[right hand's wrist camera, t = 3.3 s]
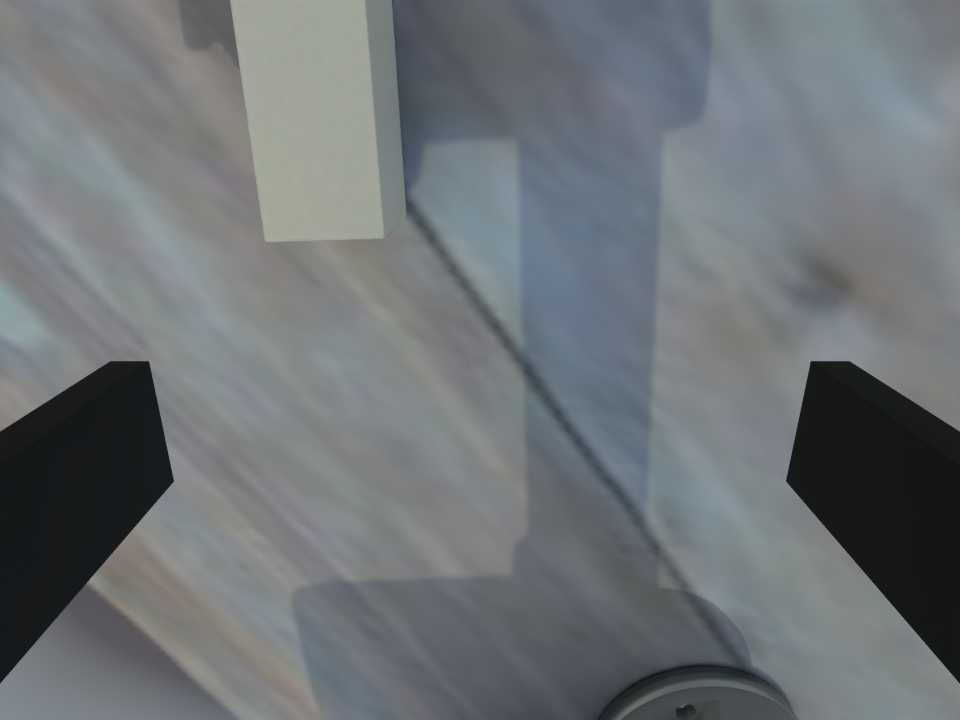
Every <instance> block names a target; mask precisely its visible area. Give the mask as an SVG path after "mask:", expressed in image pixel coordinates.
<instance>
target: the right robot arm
mask: <svg viewBox="0 0 960 720" xmlns="http://www.w3.org/2000/svg"><path fill="white" fill-rule="evenodd" d="M173 482H174V479H173V475H172V470H171V465H170V460H169V455H168V450H167V446H166V441H165V436H164V431H163V426H162V422H161V417H160V412H159V407H158V402H157V397H156V393H155V388H154V383H153V378H152V373H151V369H150V364H149V361H110V362H109V363H107V364H105V365H104V366H102V367H101V368H99V369H98V370H96V371H94V372H93V373H91V374H90V375H88V376H87V377H85V378H84V379H82V380H80V381H79V382H77V383H76V384H74V385H73V386H71V387H69V388H68V389H66V390H65V391H63V392H62V393H60V394H58V395H57V396H55V397H54V398H52V399H51V400H49V401H48V402H46V403H44V404H43V405H41V406H40V407H38V408H37V409H35V410H33V411H32V412H30V413H29V414H27V415H26V416H24V417H22V418H21V419H19V420H18V421H16V422H15V423H13V424H12V425H10V426H8V427H7V428H5V429H4V430H2V431H1V432H0V683H1V682H2V681H3V680H4V678H5V677H6V676H7V675H8V674H9V672H10V671H11V670H12V669H13V668H14V667H15V666H16V664H17V663H18V662H19V661H20V660H21V659H22V657H23V656H24V655H25V654H26V653H27V652H28V650H29V649H30V648H31V647H32V646H33V645H34V643H35V642H36V641H37V640H38V639H39V638H40V636H41V635H42V634H43V633H44V632H45V631H46V629H47V628H48V627H49V626H50V625H51V624H52V623H53V621H54V620H55V619H56V618H57V617H58V616H59V614H60V613H61V612H62V611H63V610H64V609H65V607H66V606H67V605H68V604H69V603H70V602H71V600H72V599H73V598H74V597H75V596H76V595H77V593H78V592H79V591H80V590H81V589H82V588H83V586H84V585H85V584H86V583H87V582H88V581H89V580H90V578H91V577H92V576H93V575H94V574H95V573H96V571H97V570H98V569H99V568H100V567H101V566H102V564H103V563H104V562H105V561H106V560H107V559H108V557H109V556H110V555H111V554H112V553H113V552H114V550H115V549H116V548H117V547H118V546H119V545H120V543H121V542H122V541H123V540H124V539H125V538H126V536H127V535H128V534H129V533H130V532H131V531H132V529H133V528H134V527H135V526H136V525H137V524H138V523H139V521H140V520H141V519H142V518H143V517H144V516H145V514H146V513H147V512H148V511H149V510H150V509H151V507H152V506H153V505H154V504H155V503H156V502H157V500H158V499H159V498H160V497H161V496H162V495H163V493H164V492H165V491H166V490H167V489H168V488H169V486H170V485H171V484H172V483H173ZM786 482H787V483H788V484H789V485H790V486H791V488H792V489H793V490H794V491H795V492H796V493H797V495H798V496H799V497H800V498H801V499H802V500H803V502H804V503H805V504H806V505H807V506H808V507H809V509H810V510H811V511H812V512H813V513H814V514H815V516H816V517H817V518H818V519H819V520H820V521H821V523H822V524H823V525H824V526H825V527H826V528H827V529H828V531H829V532H830V533H831V534H832V535H833V536H834V538H835V539H836V540H837V541H838V542H839V543H840V545H841V546H842V547H843V548H844V549H845V550H846V552H847V553H848V554H849V555H850V556H851V557H852V559H853V560H854V561H855V562H856V563H857V564H858V566H859V567H860V568H861V569H862V570H863V571H864V573H865V574H866V575H867V576H868V577H869V578H870V580H871V581H872V582H873V583H874V584H875V585H876V586H877V588H878V589H879V590H880V591H881V592H882V593H883V595H884V596H885V597H886V598H887V599H888V600H889V602H890V603H891V604H892V605H893V606H894V607H895V609H896V610H897V611H898V612H899V613H900V614H901V616H902V617H903V618H904V619H905V620H906V621H907V623H908V624H909V625H910V626H911V627H912V628H913V630H914V631H915V632H916V633H917V634H918V635H919V637H920V638H921V639H922V640H923V641H924V642H925V643H926V645H927V646H928V647H929V648H930V649H931V650H932V652H933V653H934V654H935V655H936V656H937V657H938V659H939V660H940V661H941V662H942V663H943V664H944V666H945V667H946V668H947V669H948V670H949V671H950V673H951V674H952V675H953V676H954V677H955V678H956V680H957V681H958V682H959V683H960V432H959V431H958V430H956V429H955V428H953V427H952V426H950V425H948V424H947V423H945V422H944V421H942V420H941V419H939V418H938V417H936V416H934V415H933V414H931V413H930V412H928V411H927V410H925V409H923V408H922V407H920V406H919V405H917V404H916V403H914V402H912V401H911V400H909V399H908V398H906V397H905V396H903V395H902V394H900V393H898V392H897V391H895V390H894V389H892V388H891V387H889V386H887V385H886V384H884V383H883V382H881V381H880V380H878V379H876V378H875V377H873V376H872V375H870V374H869V373H867V372H866V371H864V370H862V369H861V368H859V367H858V366H856V365H855V364H853V363H851V362H850V361H811V364H810V369H809V373H808V378H807V383H806V388H805V393H804V397H803V402H802V407H801V412H800V417H799V422H798V426H797V431H796V436H795V441H794V446H793V450H792V455H791V460H790V465H789V470H788V475H787V479H786ZM599 720H797V718H796V716H795V714H794V712H793V710H792V709H791V707H790V705H789V704H788V702H787V701H786V700H785V698H784V697H783V696H782V695H781V694H780V693H779V692H778V691H777V690H776V689H775V688H773V687H772V686H771V685H769V684H768V683H766V682H765V681H763V680H761V679H759V678H757V677H755V676H753V675H750V674H747V673H745V672H741V671H738V670H733V669H728V668H721V667H689V668H682V669H677V670H672V671H668V672H664V673H661V674H658V675H655V676H653V677H650V678H648V679H646V680H644V681H641V682H640V683H638V684H636V685H634V686H632V687H631V688H629V689H628V690H626V691H625V692H624V693H622V694H621V695H620V696H619V697H617V698H616V699H615V700H614V701H613V702H612V703H611V704H610V705H609V706H608V708H607V709H606V710H605V711H604V712H603V714H602V715H601V717H600V718H599Z"/></svg>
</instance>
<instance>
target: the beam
mask: <svg viewBox="0 0 960 720" xmlns="http://www.w3.org/2000/svg"><path fill="white" fill-rule="evenodd" d="M230 3H231V10H232V17H233V24H234V31H235V38H236V45H237V52H238V59H239V66H240V73H241V79H242V86H243V93H244V100H245V107H246V114H247V121H248V128H249V135H250V142H251V149H252V156H253V163H254V170H255V177H256V184H257V190H258V197H259V204H260V211H261V218H262V225H263V232H264V239H265V242H291V241H325V240H359V239H384V238H385V237H386V236H387V235H388V234H389V233H390V232H391V231H392V230H394V229H395V228H396V227H397V226H398V225H399V224H400V223H401V222H402V221H403V220H404V219H405V218H406V217H407V216H406V201H405V186H404V171H403V156H402V142H401V127H400V112H399V97H398V82H397V68H396V53H395V38H394V23H393V9H392V0H230Z"/></svg>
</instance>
